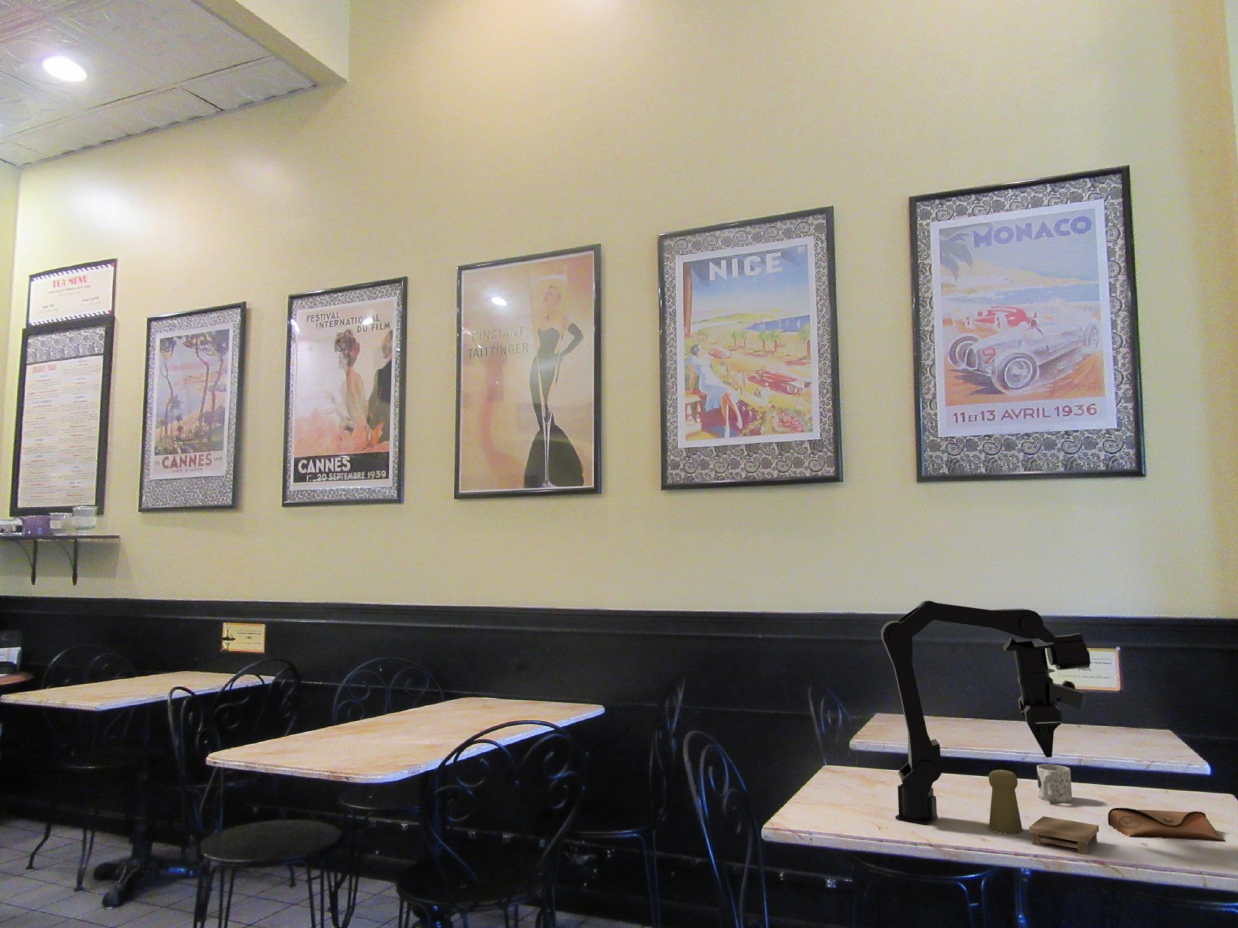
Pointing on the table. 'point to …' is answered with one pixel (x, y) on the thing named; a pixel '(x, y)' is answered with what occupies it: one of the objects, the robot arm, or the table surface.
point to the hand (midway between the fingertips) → (1046, 752)
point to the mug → (1054, 783)
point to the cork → (1004, 803)
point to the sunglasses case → (1162, 824)
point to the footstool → (1064, 832)
